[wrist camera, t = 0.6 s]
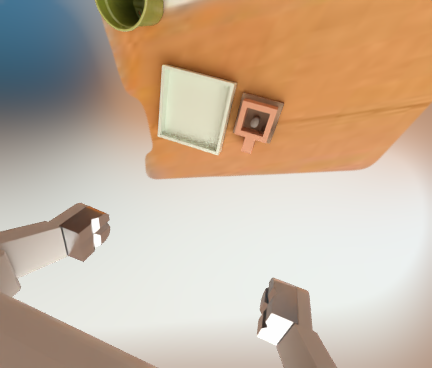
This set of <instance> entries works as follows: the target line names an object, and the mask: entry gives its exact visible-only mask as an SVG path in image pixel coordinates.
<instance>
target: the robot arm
mask: <svg viewBox="0 0 432 368" xmlns="http://www.w3.org/2000/svg"><path fill="white" fill-rule="evenodd" d="M108 221H109V215H108V214H106V213H104V212H102V211H99V210H97V209H95V208H92V207H90V206H87V205H85V204H82V203H78V204H75V205H74V206H72V207H71V208H69V209H68V210H66V211H65V212H63V213H62V214H60V215H58V216H57V217H55V218H54V219H52V220H51V221H49V222H47V221H44V222H39V223H35V224H31V225H27V226H22V227H18V228H14V229H10V230H6V231H1V232H0V368H157V367H155V366H153V365H151V364H149V363H146V362H145V361H142V360H141V359H138V358H136V357H134V356H132V355H130V354H128V353H126V352H124V351H122V350H120V349H118V348H116V347H114V346H112V345H109V344H107V343H105V342H103V341H101V340H99V339H97V338H95V337H93V336H91V335H89V334H87V333H85V332H83V331H81V330H79V329H76V328H74V327H72V326H70V325H68V324H66V323H64V322H62V321H60V320H58V319H56V318H53V317H52V316H49V315H47V314H45V313H43V312H41V311H39V310H37V309H35V308H33V307H31V306H29V305H27V304H24V303H22V302H20V301H19V300H16V299H14V298H12V297H13V296H14V295H15V294H16V293H17V292H18V291H20V288H21V286H20V284H19V281H18V279H17V278H19V277H22V276H24V275H26V274H29V273H31V272H33V271H35V270H38V269H40V268H42V267H45V266H47V265H49V264H51V263H53V262H56V261H58V260H60V259H63V258H65V257H67V255H68V256H70V257H73V258H75V259H78V260H80V261H83V262H84V261H85V260H86V259H87V258H88V257H89V256H90V255H91V254H92V253H93V252H94V250H95V247H96V246H99V245H102V243H103V242H104V241H105V240H106V239H107V237H108V236H109V233H110V226H109V224H108V223H107V222H108ZM260 311H261V313H262V316H261V317H260V319H259V321H258V331H257V337H259V338H262V339H264V340H266V341H268V342H270V343H272V344H274V345H277V350H278V353H279V355H280V358H281V361H282V364H283V367H284V368H337V367H336V365H335V363H334V362H333V360H332V359H331V357H330V355H329V353H328V352H327V350H326V348H325V346H324V345H323V343H322V341H321V340H320V338H319V336H318V334H317V333H316V332H314V331H313V330H312V319H311V308H310V298H309V292H308V291H307V290H304V289H301V288H299V287H296V286H294V285H291V284H289V283H286V282H283V281H281V280H278V279H275V278H272V279H271V281H270V282H269V288H266V289H265V291H264V293H263V296H262V300H261V305H260Z"/></svg>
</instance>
